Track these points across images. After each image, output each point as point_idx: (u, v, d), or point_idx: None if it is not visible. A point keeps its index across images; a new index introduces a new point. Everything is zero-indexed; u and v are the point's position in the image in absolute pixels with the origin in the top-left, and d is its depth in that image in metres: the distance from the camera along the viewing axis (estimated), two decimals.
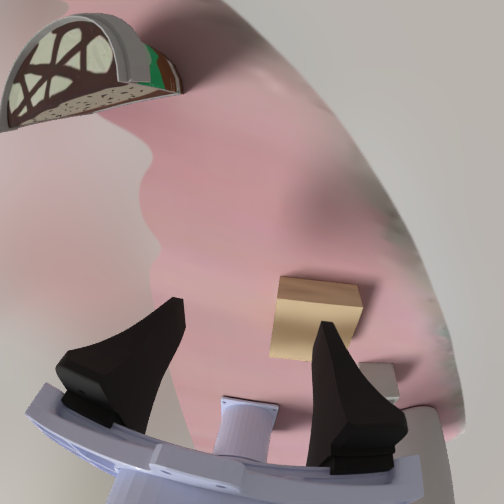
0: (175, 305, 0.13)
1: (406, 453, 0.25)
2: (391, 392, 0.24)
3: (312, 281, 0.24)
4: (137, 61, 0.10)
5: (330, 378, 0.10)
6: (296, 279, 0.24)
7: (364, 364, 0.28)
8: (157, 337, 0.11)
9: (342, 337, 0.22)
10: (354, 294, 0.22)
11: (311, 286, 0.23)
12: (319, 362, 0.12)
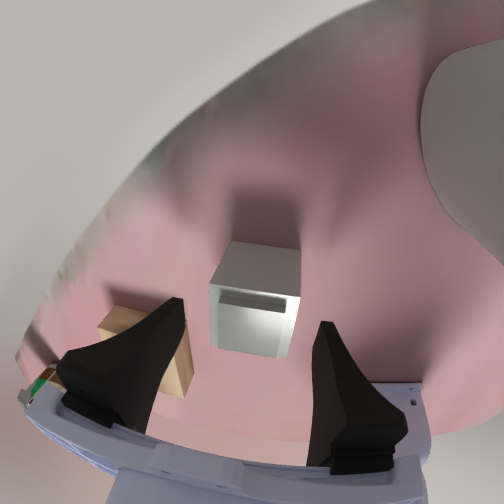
0: (175, 305, 0.13)
1: (503, 220, 0.06)
2: None
3: None
4: (24, 395, 0.23)
5: (330, 378, 0.10)
6: None
7: None
8: (157, 337, 0.11)
9: None
10: None
11: None
12: (319, 362, 0.12)
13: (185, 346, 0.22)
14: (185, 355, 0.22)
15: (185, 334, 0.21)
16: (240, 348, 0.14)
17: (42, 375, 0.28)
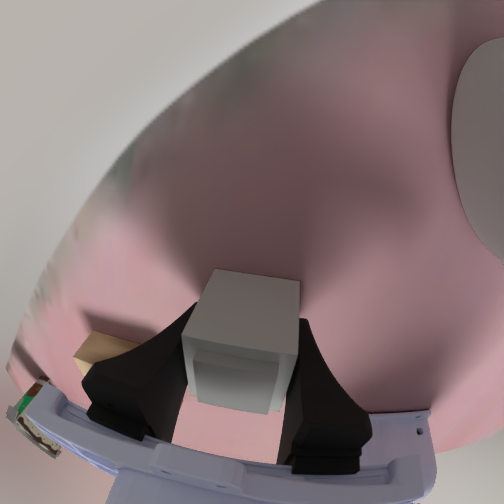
0: None
1: None
2: None
3: None
4: (12, 413, 0.20)
5: (297, 375, 0.10)
6: None
7: None
8: None
9: None
10: None
11: None
12: None
13: None
14: None
15: None
16: (224, 404, 0.11)
17: (30, 391, 0.25)
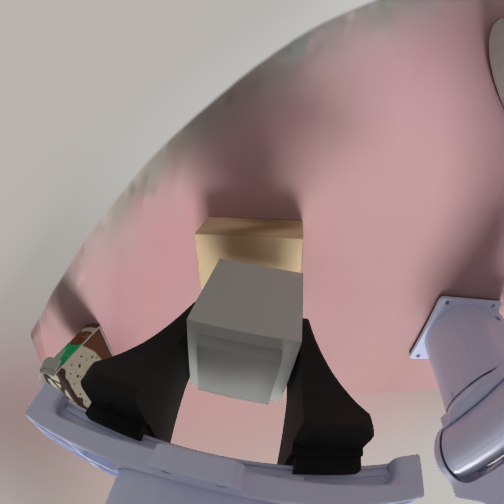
0: None
1: None
2: None
3: None
4: (51, 364, 0.21)
5: (298, 375, 0.10)
6: None
7: None
8: (184, 344, 0.11)
9: (246, 248, 0.18)
10: None
11: None
12: None
13: None
14: None
15: None
16: (225, 392, 0.11)
17: (74, 340, 0.26)
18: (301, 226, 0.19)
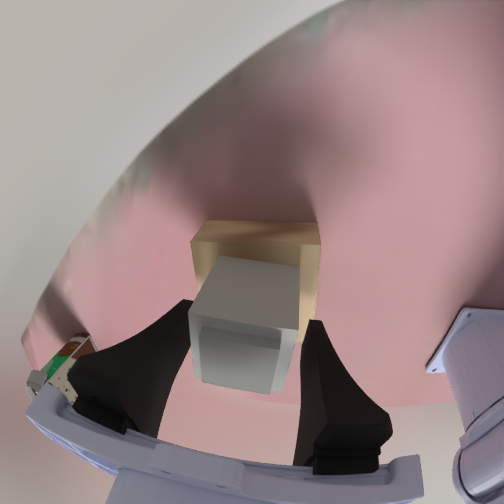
0: (187, 307, 0.13)
1: None
2: None
3: None
4: (37, 378, 0.18)
5: (315, 377, 0.10)
6: None
7: None
8: (169, 340, 0.11)
9: (253, 257, 0.15)
10: None
11: None
12: (306, 361, 0.12)
13: None
14: None
15: None
16: (227, 383, 0.12)
17: (62, 351, 0.23)
18: (317, 229, 0.16)
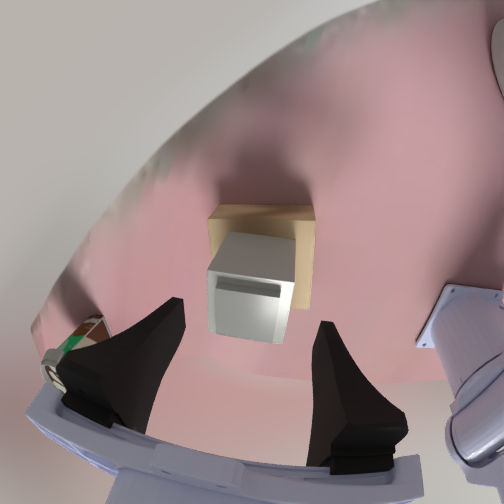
0: (175, 305, 0.13)
1: None
2: None
3: None
4: (54, 355, 0.21)
5: (330, 378, 0.10)
6: None
7: None
8: (157, 337, 0.11)
9: (260, 232, 0.18)
10: None
11: None
12: (319, 362, 0.12)
13: None
14: None
15: None
16: (237, 333, 0.15)
17: (76, 332, 0.26)
18: (312, 210, 0.19)
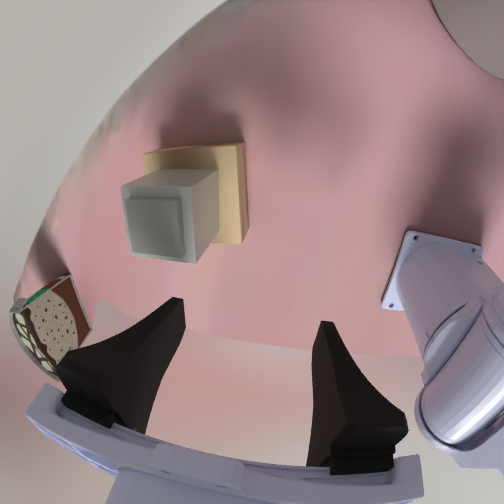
0: (175, 305, 0.13)
1: None
2: None
3: None
4: (18, 303, 0.21)
5: (330, 378, 0.10)
6: None
7: None
8: (157, 337, 0.11)
9: (186, 161, 0.18)
10: None
11: None
12: (319, 362, 0.12)
13: (244, 171, 0.20)
14: (243, 182, 0.20)
15: (244, 156, 0.20)
16: (149, 249, 0.15)
17: (44, 287, 0.26)
18: (241, 143, 0.19)
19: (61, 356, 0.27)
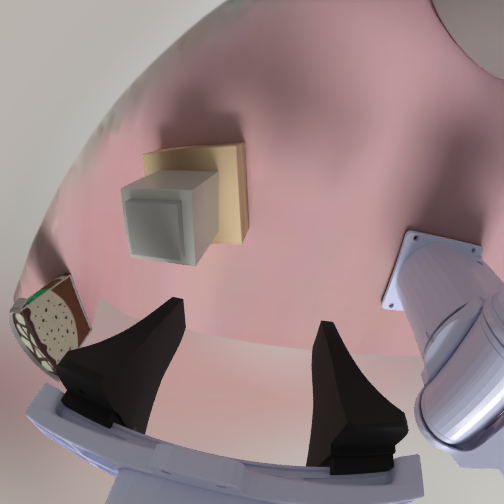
0: (175, 305, 0.13)
1: None
2: None
3: None
4: (18, 303, 0.21)
5: (330, 378, 0.10)
6: None
7: None
8: (157, 337, 0.11)
9: (186, 161, 0.18)
10: None
11: None
12: (319, 362, 0.12)
13: (244, 171, 0.20)
14: (243, 182, 0.20)
15: (244, 156, 0.20)
16: (149, 251, 0.15)
17: (44, 287, 0.26)
18: (241, 143, 0.19)
19: (61, 356, 0.27)
